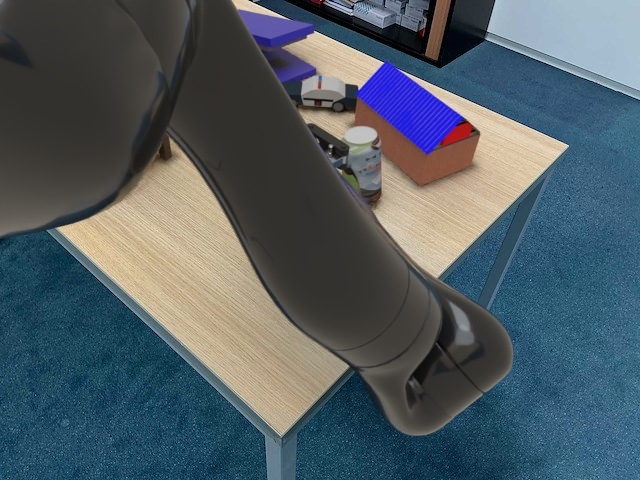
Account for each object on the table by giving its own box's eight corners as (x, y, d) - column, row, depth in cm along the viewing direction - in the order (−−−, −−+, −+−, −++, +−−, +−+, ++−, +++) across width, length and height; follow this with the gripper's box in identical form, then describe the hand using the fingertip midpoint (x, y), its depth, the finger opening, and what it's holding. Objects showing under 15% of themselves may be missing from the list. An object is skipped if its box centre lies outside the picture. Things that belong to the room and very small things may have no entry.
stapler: (277, 89, 108) (277, 42, 101) (197, 37, 122) (192, -8, 115) (319, 72, 114) (322, 26, 107) (239, 24, 128) (236, -19, 121)
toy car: (277, 94, 107) (277, 70, 104) (358, 99, 107) (361, 76, 104) (274, 107, 104) (274, 84, 100) (358, 113, 104) (361, 90, 100)
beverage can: (374, 215, 84) (385, 152, 75) (329, 203, 85) (335, 140, 77) (384, 191, 88) (396, 128, 80) (341, 180, 90) (348, 117, 81)
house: (402, 110, 106) (412, 53, 97) (473, 166, 94) (492, 107, 86) (351, 126, 101) (358, 68, 92) (419, 187, 89) (434, 127, 81)
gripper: (397, 165, 48) (309, 77, 59) (248, 210, 43) (180, 104, 53) (386, 226, 54) (306, 135, 64) (251, 273, 48) (188, 166, 59)
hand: (249, 122), depth 59 cm, fingers closed on planter, 4 cm apart
